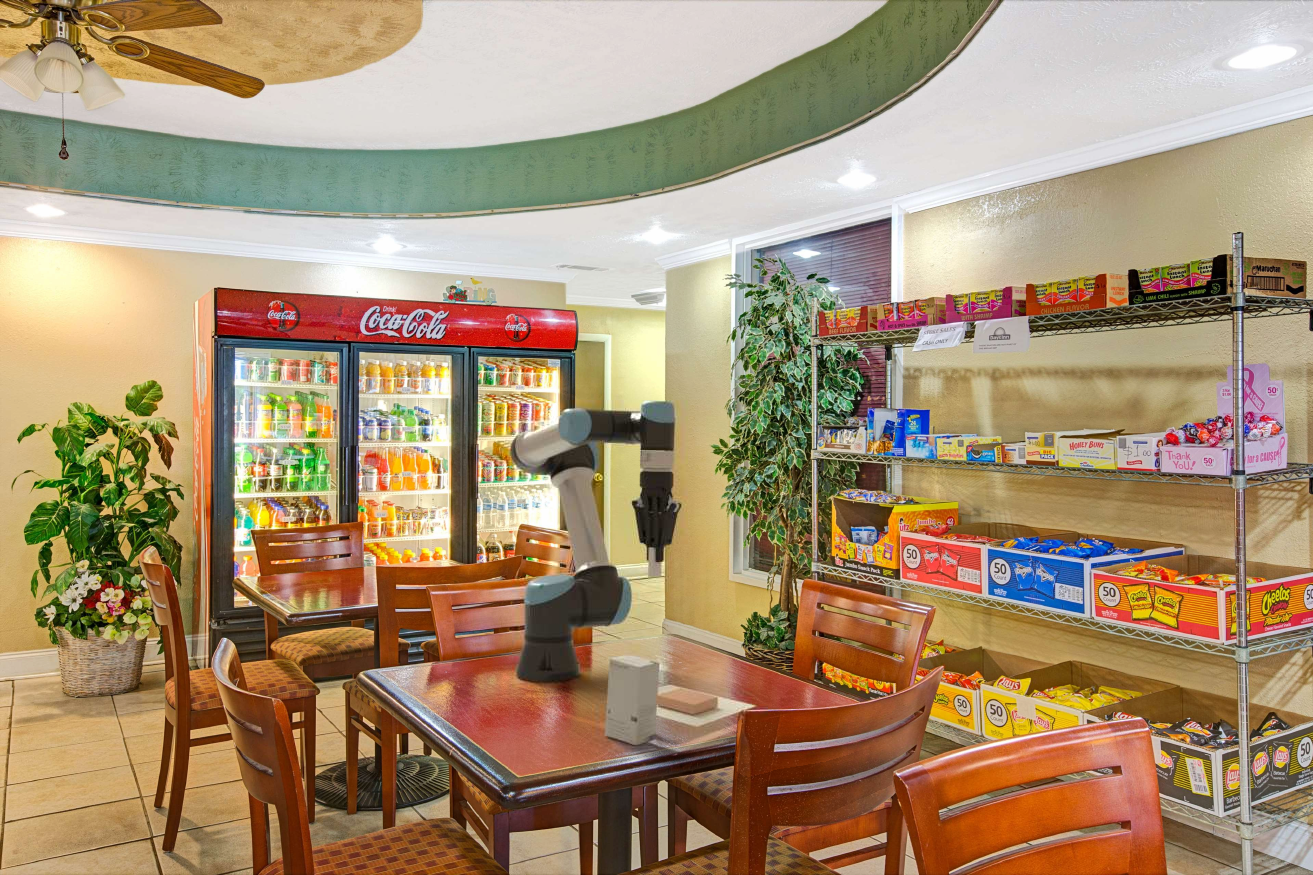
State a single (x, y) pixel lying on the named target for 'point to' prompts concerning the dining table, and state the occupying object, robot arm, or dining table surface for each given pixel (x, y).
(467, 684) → the dining table surface
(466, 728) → the dining table surface
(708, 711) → the mat
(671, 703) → the tile
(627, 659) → the skincare box
